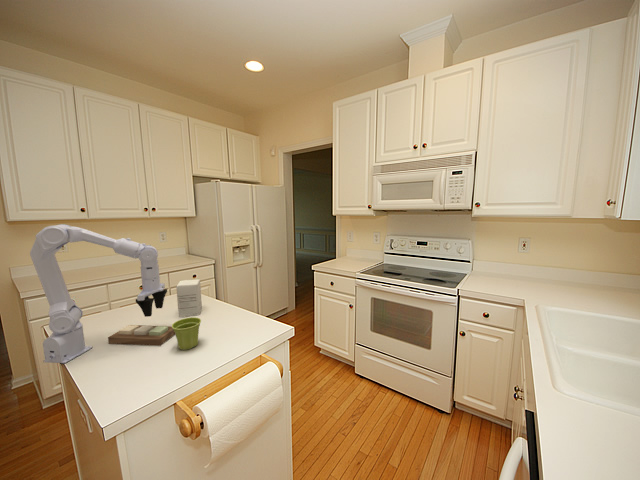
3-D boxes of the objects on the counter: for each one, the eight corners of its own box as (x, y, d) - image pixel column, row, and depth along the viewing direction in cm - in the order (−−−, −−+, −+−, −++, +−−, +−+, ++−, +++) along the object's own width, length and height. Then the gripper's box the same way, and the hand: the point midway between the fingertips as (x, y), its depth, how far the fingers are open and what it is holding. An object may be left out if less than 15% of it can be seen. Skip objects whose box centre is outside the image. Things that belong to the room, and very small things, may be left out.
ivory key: (145, 337, 96) (144, 331, 96) (134, 337, 96) (133, 331, 96) (153, 332, 100) (153, 326, 100) (143, 331, 101) (142, 325, 100)
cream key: (130, 337, 96) (129, 330, 96) (119, 336, 97) (118, 330, 97) (139, 331, 101) (138, 325, 101) (128, 331, 101) (128, 325, 101)
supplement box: (182, 310, 125) (179, 280, 123) (202, 308, 128) (200, 278, 126) (178, 317, 116) (175, 285, 114) (199, 315, 119) (197, 284, 117)
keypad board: (160, 345, 93) (159, 339, 92) (108, 343, 94) (107, 337, 94) (177, 332, 103) (177, 326, 102) (130, 330, 104) (130, 324, 104)
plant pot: (170, 354, 87) (168, 330, 86) (177, 340, 96) (175, 318, 95) (200, 350, 90) (198, 327, 89) (204, 337, 99) (203, 315, 98)
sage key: (160, 338, 96) (160, 332, 95) (149, 337, 96) (148, 331, 96) (168, 332, 100) (167, 326, 100) (157, 332, 100) (157, 326, 100)
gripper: (150, 283, 91) (154, 319, 92) (171, 272, 105) (173, 304, 107) (129, 283, 90) (133, 320, 92) (153, 273, 104) (156, 305, 106)
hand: (153, 312), depth 99 cm, fingers open, 7 cm apart
